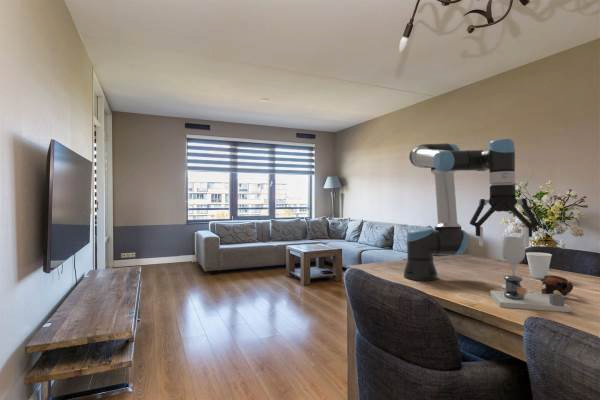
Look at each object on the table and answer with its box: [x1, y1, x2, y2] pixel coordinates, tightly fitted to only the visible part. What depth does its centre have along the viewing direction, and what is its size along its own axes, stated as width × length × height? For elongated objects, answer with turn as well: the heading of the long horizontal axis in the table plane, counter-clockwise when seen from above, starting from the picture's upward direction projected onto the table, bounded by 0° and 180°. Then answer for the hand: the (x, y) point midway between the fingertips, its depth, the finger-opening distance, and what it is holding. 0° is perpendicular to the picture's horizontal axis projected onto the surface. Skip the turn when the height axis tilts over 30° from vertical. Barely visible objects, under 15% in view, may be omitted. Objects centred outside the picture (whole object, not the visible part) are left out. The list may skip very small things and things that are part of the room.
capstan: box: [503, 274, 527, 299], centre depth 115 cm, size 14×6×7 cm, turn 161°
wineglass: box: [501, 236, 527, 290], centre depth 135 cm, size 9×9×21 cm
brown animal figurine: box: [540, 274, 574, 297], centre depth 125 cm, size 12×10×8 cm
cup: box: [525, 251, 553, 280], centre depth 152 cm, size 10×10×11 cm
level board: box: [489, 290, 571, 313], centre depth 117 cm, size 20×15×6 cm
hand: (503, 246), depth 113 cm, fingers open, 13 cm apart
